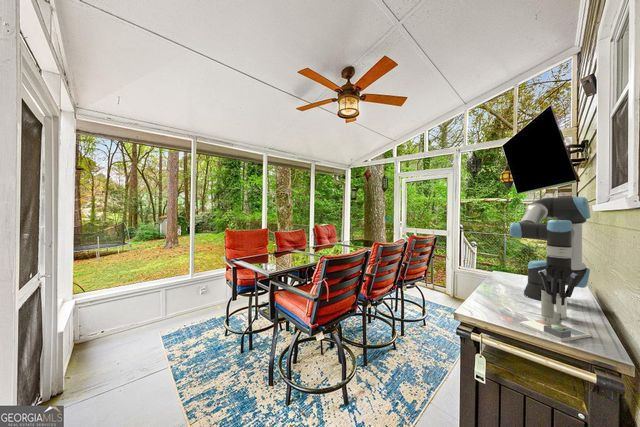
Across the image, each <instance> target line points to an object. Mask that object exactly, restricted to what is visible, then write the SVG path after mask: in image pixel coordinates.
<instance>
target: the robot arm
mask: <svg viewBox="0 0 640 427" xmlns="http://www.w3.org/2000/svg"><path fill="white" fill-rule="evenodd" d="M590 210H591V209H590V204H589V200H588V198H586V197H584V196H564V197H563V196H562V197H560V196H559V197H544V198H540V199H537V200H535V201H532V202H531V203H530V204H528V206H526V208H525V213H524V215H523V217H522V218H521V220H520V221H519V222H512V223H510V225H509V235H510V237H511V238H519V239H529V240H532V239H533V240H543V241H546V255H547V256H546V260H531V261H529V262H528V264H527V283H526V285H525V288H524V290H523V295H524V296H525V295H526V296H528V297H527V298H529V297H530V298H529V299H532V298H534V299H533V300H536V299H538V300H537V301H541V288H542V281H543V285H544V288H545V292H546V293H547V294H548V295H551V302H552V304H554V311H555V312H556V313H560V314H561V305H563V306H564V305H565V298H566V297H567V298H571V297H572V295H573V292H574V289H575V288H581V289H584V288H586V287H587V286H588V283H589V278H590V274H591V273H590V272H591V270H590V268H588V267H587V265H586V264H585V263H584V262H583V224H585V223H586V222H587V220H588V219H591V211H590ZM545 218H547V219H548V218H550V220H548V221H547V223H541V222H542V220H543V219H545ZM547 279H551V292H550V288H549V285H548V281H547ZM557 280H558V281H559V296H560V297H559V296H557ZM566 286H567V287H566ZM526 296H525V297H526Z"/></svg>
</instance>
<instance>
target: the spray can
mask: <svg viewBox="0 0 640 427" xmlns="http://www.w3.org/2000/svg"><path fill="white" fill-rule="evenodd" d="M547 281H548V285H549V288H550V292H551V279H547ZM557 296H559V281H558V280H557ZM559 297H560V296H559ZM540 301H541V302H540V305H541V307H540V308H541V309H540V319H541V321H542V322H543V323H545V324H548V325H552V324H554V325H559V326H560V325H561V324H562V319H561V314H560V313H556V312H555V311H554V304H552V302H551V295H548V294H547V293H546V292H545V288H544V285H543V281H542V288H541V300H540Z"/></svg>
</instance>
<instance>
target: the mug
mask: <svg viewBox="0 0 640 427" xmlns="http://www.w3.org/2000/svg"><path fill="white" fill-rule="evenodd" d="M567 307H568V297H566V298H565V305H564V306H563V305H561V320H562V319H566V318H567V316H568V312H567V310H568V308H567Z"/></svg>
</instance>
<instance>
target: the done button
mask: <svg viewBox="0 0 640 427" xmlns="http://www.w3.org/2000/svg"><path fill="white" fill-rule="evenodd" d="M551 328H553V329H556V330H558V331H563V327H561V326H559V325H553V324H552V325H551Z"/></svg>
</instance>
